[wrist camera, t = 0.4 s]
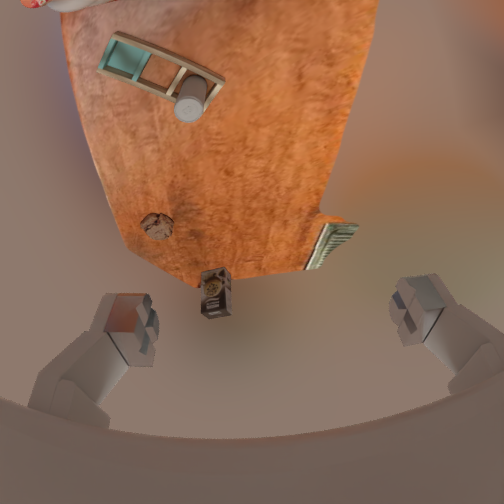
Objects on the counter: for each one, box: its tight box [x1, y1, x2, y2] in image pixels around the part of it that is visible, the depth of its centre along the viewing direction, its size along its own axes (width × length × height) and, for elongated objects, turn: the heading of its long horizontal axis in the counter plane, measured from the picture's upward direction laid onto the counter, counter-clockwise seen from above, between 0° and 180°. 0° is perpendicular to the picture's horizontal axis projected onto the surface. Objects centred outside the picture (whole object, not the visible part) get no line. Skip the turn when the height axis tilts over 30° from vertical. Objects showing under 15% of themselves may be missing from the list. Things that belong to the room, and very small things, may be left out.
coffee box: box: [201, 267, 232, 319], centre depth 99 cm, size 9×6×16 cm
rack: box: [96, 31, 225, 114], centre depth 43 cm, size 8×24×2 cm, turn 54°
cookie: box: [140, 213, 174, 240], centre depth 79 cm, size 10×11×3 cm
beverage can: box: [174, 75, 207, 123], centre depth 44 cm, size 5×5×12 cm
